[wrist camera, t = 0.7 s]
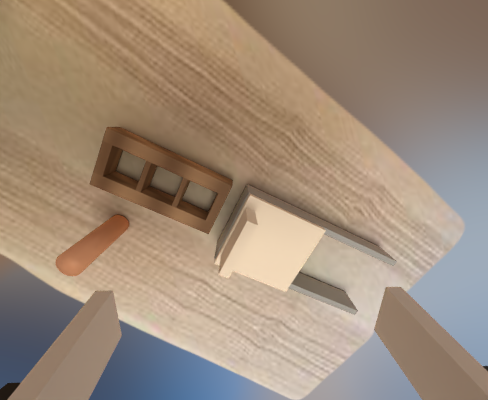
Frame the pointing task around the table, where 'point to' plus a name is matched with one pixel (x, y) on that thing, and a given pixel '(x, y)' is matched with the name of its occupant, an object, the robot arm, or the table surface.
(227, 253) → the lid
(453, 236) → the table surface
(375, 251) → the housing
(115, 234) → the pin
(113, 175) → the wooden compartment rack
